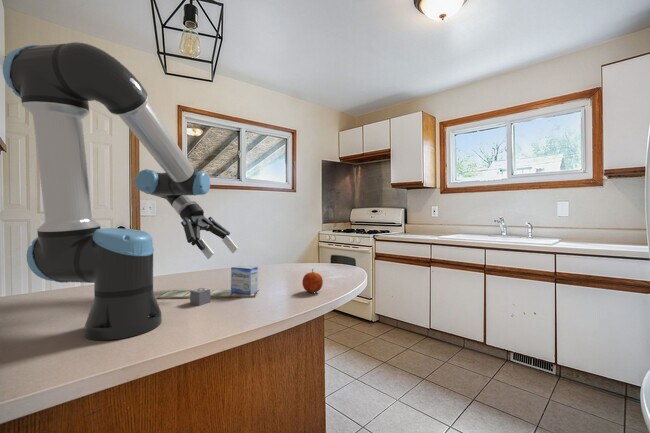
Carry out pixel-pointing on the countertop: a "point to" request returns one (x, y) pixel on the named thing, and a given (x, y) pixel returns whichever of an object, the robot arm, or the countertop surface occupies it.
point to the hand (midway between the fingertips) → (224, 253)
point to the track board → (213, 294)
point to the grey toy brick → (200, 296)
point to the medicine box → (244, 280)
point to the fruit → (312, 282)
